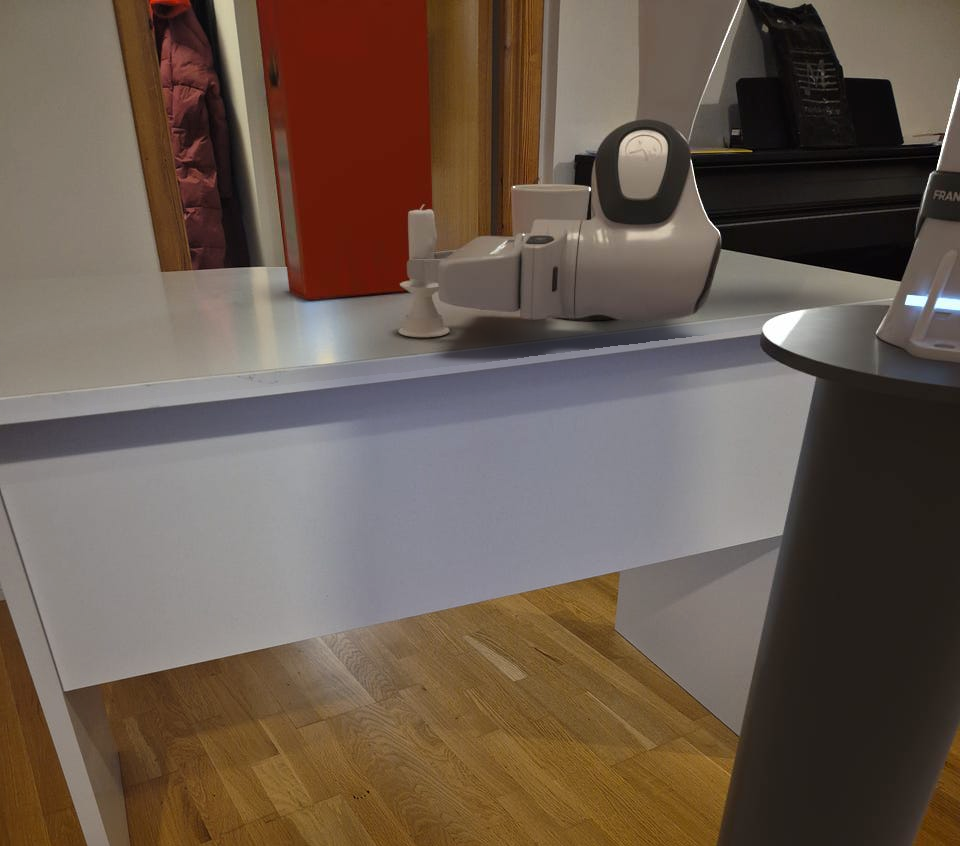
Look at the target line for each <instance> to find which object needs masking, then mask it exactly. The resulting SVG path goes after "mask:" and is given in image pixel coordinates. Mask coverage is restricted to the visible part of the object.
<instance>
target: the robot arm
mask: <svg viewBox="0 0 960 846" xmlns="http://www.w3.org/2000/svg"><path fill="white" fill-rule="evenodd" d="M741 2H742V0H638V6H637V7H638V9H637V12H638V13H637V14H638V15H637V16H638V17H637V18H638V20H637V21H638V23H637V24H638V26H637V29H638V30H637V33H638V95H637V96H638V97H637V108H636V114H635V120H632V121H629V122H626V123H623V124H621V125H619V126H618V127H616V128H615V129H613V130H612V131H611V132H610V133H608V135H607V136H605V138H604V139H602V141H601V143H600V145H599V146H598V149H597V151H596V154H595V158H594V160H593V165H592V170H591V197H590V198H591V199H590V200H591V201H590V213H591V214H590V215H591V216H590V219H587V220H583V221H582V220H545V219H536V220H534V222H533V225H532V229H531V232H530V234H528V233H526V234H524V233H518V234H517V235H516V236H515V237H513V236H501V235H481V236H479V235H478V236H476V237H474V238H473V239H472V240H470V241H468V242H467V243H465V244H464V245H463V246H461V247H460V248H458V249H451V250H442V251H434V256H435V259H427V258H412V259H410V260H408V262H407V275H408V277H409V278H410V279H423V280H428V281H431V282H435V283H438V287H439V290H438V298H439V301H440V302H442V303H444V304H447V305H450V306H454V307H461V308H468V309H469V308H470V309H475V310H485V311H494V312H503V313H505V312H506V313H507V312H508V313H515V312H518V311H519V317H520V318H521V319H523V320H534V321H535V320H536V321H537V320H542V319H545V318H555V317H560V318H583V317H587V316H591V315H605V316H609V317H612V318H614V319H615V320H619V321H665V320H666V321H667V320H675V319H676V320H677V319H683V318H687V317H690V316H693V315H694V314H696V313H698V312H699V311H700V310H701V309H702V308H703V307H704V305H705V304H706V302H707V300H708V298H709V295H710V292H711V288H712V285H713V281H714V278H715V276H716V275H715V274H716V270H717V267H718V265H719V259H720V257H721V252H722V235H721V232H720V231H719V229H718V228H717V227H716V226H715V225H714V224H713V223H712V221H710V219H709V217H708V215H707V213H706V211H705V208H704V205H703V203H702V200H701V197H700V194H699V191H698V188H697V187H698V186H697V183H696V178H695V173H694V167H693V163H692V153H691V149H690V146H689V144H690V140H691V137H692V132H693V128H694V124H695V121H696V118H697V114H698V111H699V108H700V105H701V103H702V99H703V96H704V94H705V91H706V89H707V86H708V84H709V81H710V80H711V79H710V78H711V76H712V73H713V71H714V68H715V66H716V63H717V61H718V58H719V56H720V53H721V51H722V48H723V46H724V44H725V41H726V38H727V36H728V34H729V32H730V29H731V27H732V24H733V22H734V19H735V17H736V14H737V13H738V9H739V7H740V4H741ZM945 130H946V131H945V135H944V138H943V142H942V145H941V150H940V154H939V159H938V162H937V166H936V170H935V169H934V170H933V171H931V172H930V173H929V177H928V180H927V185H926V187H925V189H924V191H923V194H922V197H921V201H920V205H919V209H918V213H917V216H916V217H917V218H916V222H915V231H914V236H913V237H914V238H915V242H914V246H913V249H912V251H911V254H910V257H909V260H908V263H907V265H906V268H905V271H904V272H903V273H904V274H903V276H902V279H901V281H900V283H899V286H898V288H897V290H896V293H895V295H894V298H893V299H892V302H891V304H890V305H891V306H890V308H889V310H888V312H887V314H886V316H885V317H884V319H883V321H882V323H881V325H880V326H879V328H878V330H877V332H876V335H877V336H878V337H879V338H880V339H882V340H884V341H886V342H888V343H890V344H893V345H895V346H898V347H901V348H903V349H905V350H906V351H907V352H908V353H909V354H911V355H912V356H915V357H918V358H923V359H930V360H939V361H947V362H955V363H960V78H959V79H958V84H957V87H956V91H955V95H954V100H953V103H952V107H951V111H950V114H949V119H948V123H947V126H946V129H945ZM560 318H559V319H560Z"/></svg>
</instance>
